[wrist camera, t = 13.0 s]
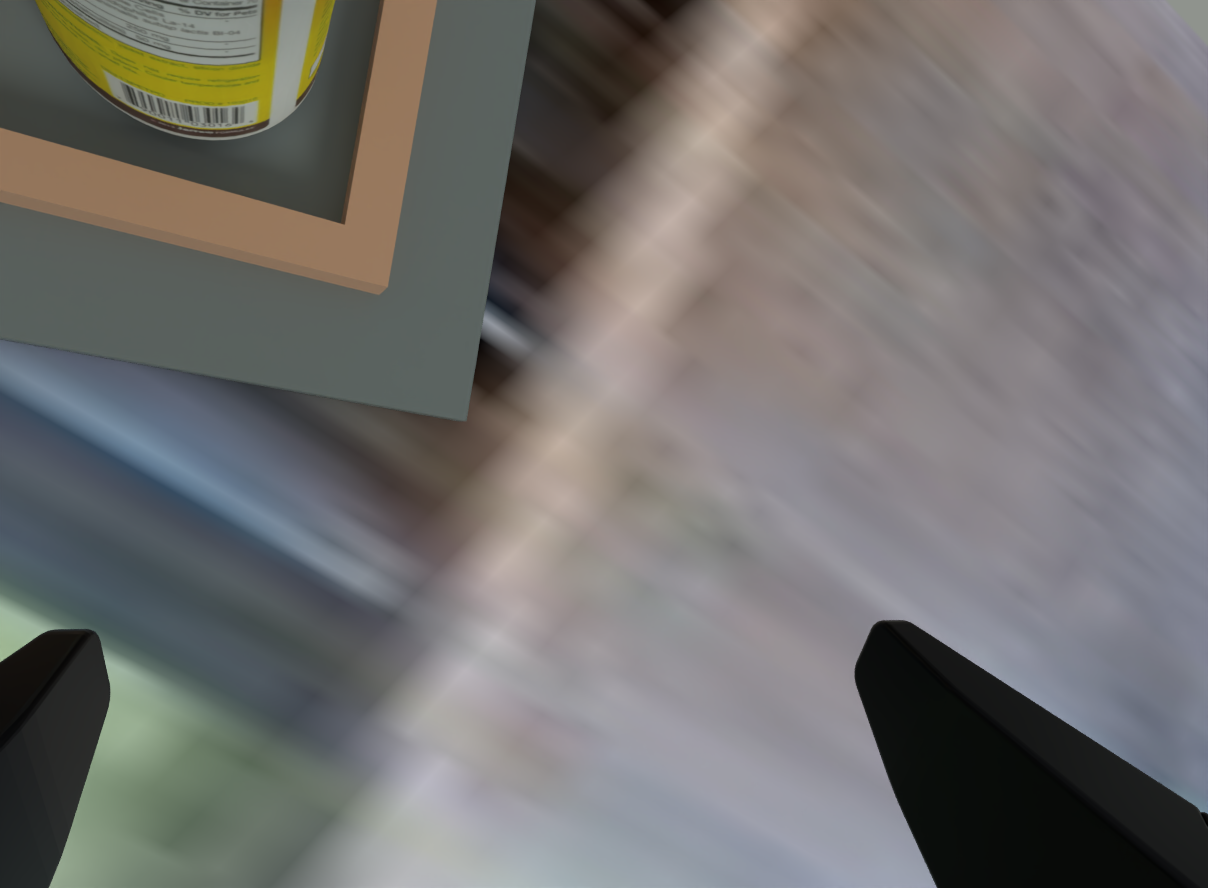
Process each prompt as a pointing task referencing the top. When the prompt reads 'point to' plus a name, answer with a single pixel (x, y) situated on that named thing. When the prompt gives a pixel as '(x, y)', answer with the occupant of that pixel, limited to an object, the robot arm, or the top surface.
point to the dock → (273, 212)
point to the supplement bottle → (195, 59)
